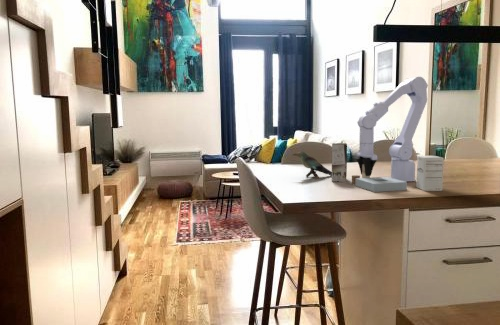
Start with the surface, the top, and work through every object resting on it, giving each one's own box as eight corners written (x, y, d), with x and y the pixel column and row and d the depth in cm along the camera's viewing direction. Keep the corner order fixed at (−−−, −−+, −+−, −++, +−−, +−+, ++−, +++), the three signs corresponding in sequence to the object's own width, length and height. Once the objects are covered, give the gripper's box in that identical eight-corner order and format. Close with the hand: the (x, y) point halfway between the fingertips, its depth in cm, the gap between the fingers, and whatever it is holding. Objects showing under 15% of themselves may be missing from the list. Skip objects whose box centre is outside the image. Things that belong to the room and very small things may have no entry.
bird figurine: (327, 172, 202) (309, 137, 195) (339, 175, 193) (321, 139, 186) (306, 188, 198) (287, 154, 191) (318, 192, 189) (299, 156, 182)
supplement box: (415, 187, 164) (416, 155, 163) (434, 187, 164) (436, 155, 163) (422, 191, 157) (424, 157, 155) (442, 190, 157) (444, 157, 155)
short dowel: (357, 183, 175) (357, 175, 175) (361, 184, 172) (361, 176, 172) (350, 183, 175) (350, 175, 174) (354, 185, 172) (354, 176, 171)
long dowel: (367, 178, 181) (367, 164, 180) (371, 180, 178) (371, 164, 177) (360, 179, 180) (360, 164, 180) (364, 180, 177) (364, 165, 177)
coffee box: (346, 182, 179) (347, 144, 177) (331, 181, 180) (331, 144, 178) (346, 178, 188) (346, 142, 186) (331, 178, 189) (332, 142, 187)
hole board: (386, 183, 173) (386, 176, 173) (406, 189, 159) (406, 182, 159) (355, 185, 170) (355, 178, 169) (373, 191, 156) (373, 183, 156)
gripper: (349, 142, 184) (349, 173, 185) (366, 144, 170) (366, 178, 171) (364, 142, 185) (364, 172, 187) (382, 144, 171) (381, 177, 173)
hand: (366, 175), depth 179 cm, fingers closed on long dowel, 3 cm apart
